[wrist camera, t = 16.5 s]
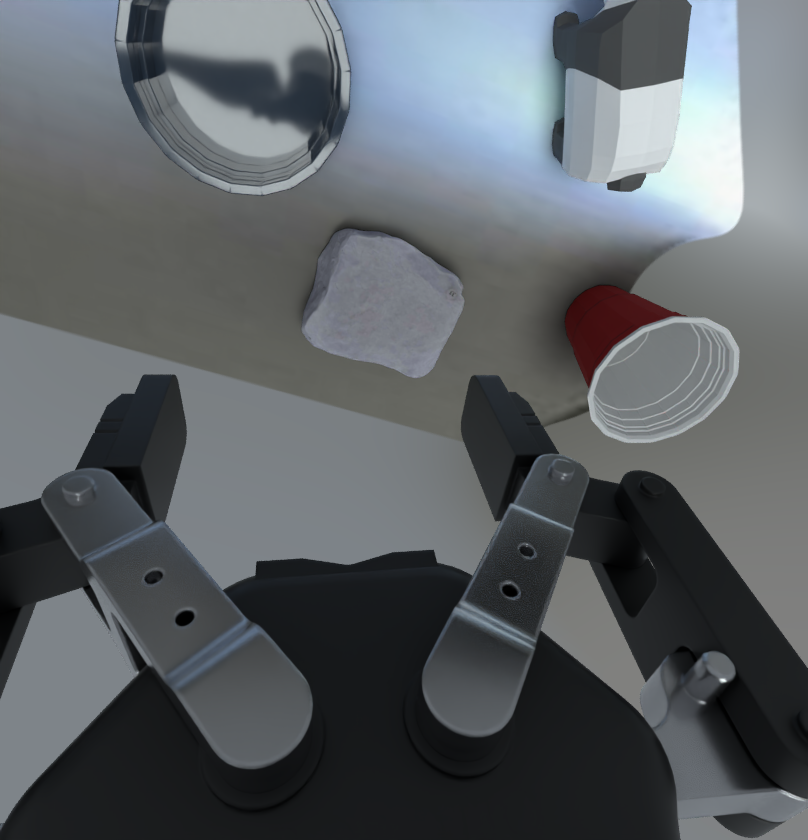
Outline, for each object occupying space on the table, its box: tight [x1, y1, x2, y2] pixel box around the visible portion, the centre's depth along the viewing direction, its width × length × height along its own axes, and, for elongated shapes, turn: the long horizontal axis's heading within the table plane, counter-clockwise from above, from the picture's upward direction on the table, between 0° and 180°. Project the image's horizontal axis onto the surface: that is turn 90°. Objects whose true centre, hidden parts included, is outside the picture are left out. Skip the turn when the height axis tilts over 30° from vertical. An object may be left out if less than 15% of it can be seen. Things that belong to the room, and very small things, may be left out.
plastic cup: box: [565, 285, 739, 443], centre depth 41 cm, size 11×11×12 cm
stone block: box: [301, 228, 465, 378], centre depth 41 cm, size 12×5×10 cm
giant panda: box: [552, 0, 692, 192], centre depth 30 cm, size 15×6×10 cm, turn 9°
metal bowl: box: [115, 0, 351, 196], centre depth 30 cm, size 12×12×4 cm
